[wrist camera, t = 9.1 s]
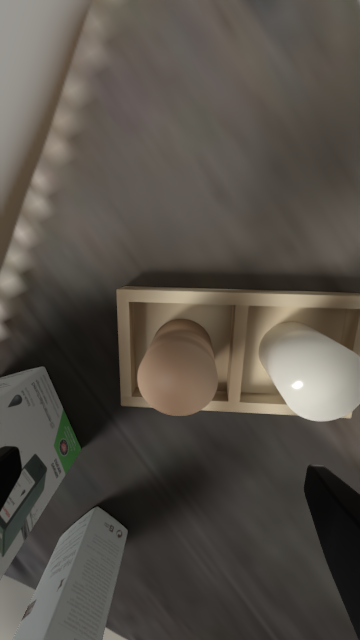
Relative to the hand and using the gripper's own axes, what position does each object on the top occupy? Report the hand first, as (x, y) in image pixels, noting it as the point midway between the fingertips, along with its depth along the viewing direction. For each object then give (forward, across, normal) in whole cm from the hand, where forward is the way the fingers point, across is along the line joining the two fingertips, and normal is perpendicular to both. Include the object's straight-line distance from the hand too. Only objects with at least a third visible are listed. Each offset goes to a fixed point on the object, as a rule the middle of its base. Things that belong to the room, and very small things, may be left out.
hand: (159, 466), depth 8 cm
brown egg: (+11, 0, 0) cm, 11 cm away
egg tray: (+12, -4, 0) cm, 12 cm away
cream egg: (+11, -8, 0) cm, 14 cm away
